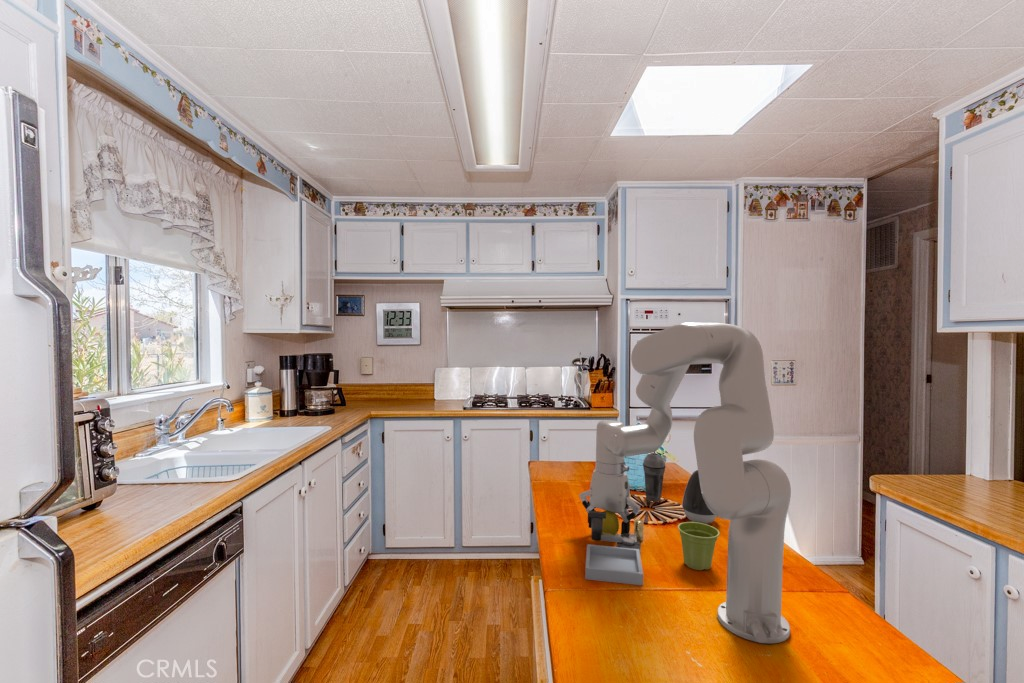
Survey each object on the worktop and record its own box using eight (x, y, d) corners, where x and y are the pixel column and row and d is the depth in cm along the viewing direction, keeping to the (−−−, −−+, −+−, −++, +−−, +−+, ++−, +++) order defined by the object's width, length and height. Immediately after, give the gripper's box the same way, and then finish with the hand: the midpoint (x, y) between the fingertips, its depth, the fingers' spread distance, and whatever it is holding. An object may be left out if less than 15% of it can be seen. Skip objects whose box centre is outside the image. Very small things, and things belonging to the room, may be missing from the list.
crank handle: (636, 539, 127) (636, 512, 127) (637, 545, 123) (637, 518, 123) (588, 534, 129) (588, 508, 129) (587, 541, 125) (588, 514, 125)
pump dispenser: (683, 525, 142) (685, 473, 142) (680, 512, 153) (681, 463, 152) (721, 529, 140) (723, 476, 140) (715, 516, 150) (717, 466, 150)
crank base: (646, 557, 122) (646, 537, 122) (616, 554, 123) (617, 535, 123) (642, 538, 133) (643, 519, 133) (615, 535, 135) (615, 517, 135)
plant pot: (681, 552, 125) (682, 518, 125) (721, 562, 120) (722, 527, 120) (672, 567, 117) (673, 531, 117) (715, 578, 112) (716, 540, 112)
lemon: (594, 540, 131) (595, 510, 131) (601, 533, 136) (602, 504, 136) (615, 545, 129) (616, 514, 128) (621, 537, 134) (621, 508, 133)
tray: (642, 585, 109) (643, 574, 109) (585, 579, 111) (585, 568, 111) (638, 559, 121) (639, 549, 121) (586, 554, 123) (587, 544, 123)
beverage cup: (641, 502, 161) (643, 441, 160) (642, 495, 168) (643, 436, 167) (664, 505, 159) (666, 443, 158) (664, 497, 166) (666, 438, 165)
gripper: (646, 470, 130) (644, 534, 131) (586, 458, 140) (585, 518, 141) (635, 476, 124) (633, 544, 124) (574, 464, 134) (572, 527, 134)
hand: (608, 530), depth 132 cm, fingers open, 9 cm apart
